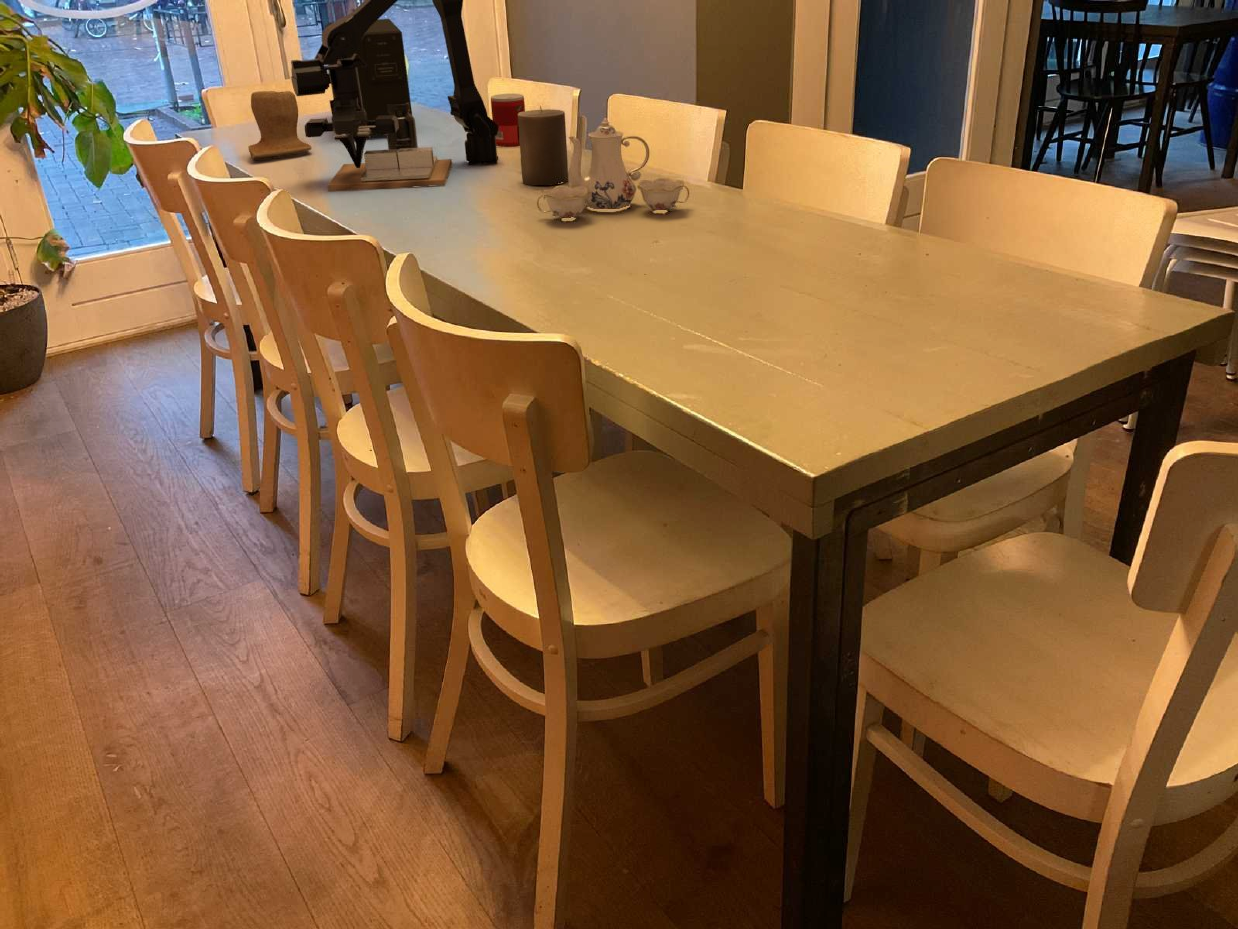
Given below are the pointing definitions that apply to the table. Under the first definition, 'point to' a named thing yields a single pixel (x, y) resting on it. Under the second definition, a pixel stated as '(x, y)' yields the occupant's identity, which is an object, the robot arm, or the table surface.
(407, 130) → the supplement bottle
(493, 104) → the canned food
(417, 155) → the fixed leaf
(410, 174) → the loose leaf
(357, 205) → the table surface
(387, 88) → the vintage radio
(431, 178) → the board
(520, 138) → the pillar candle
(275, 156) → the brown chair-shaped stand
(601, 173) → the chinaware
